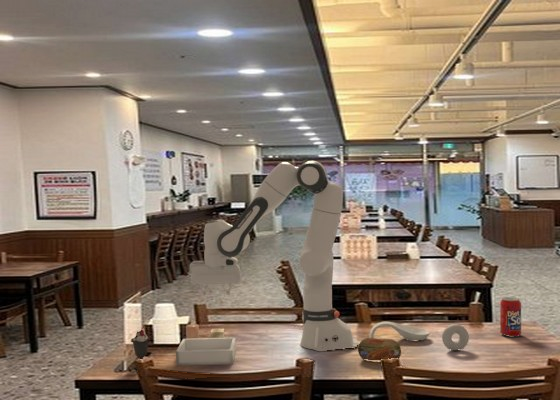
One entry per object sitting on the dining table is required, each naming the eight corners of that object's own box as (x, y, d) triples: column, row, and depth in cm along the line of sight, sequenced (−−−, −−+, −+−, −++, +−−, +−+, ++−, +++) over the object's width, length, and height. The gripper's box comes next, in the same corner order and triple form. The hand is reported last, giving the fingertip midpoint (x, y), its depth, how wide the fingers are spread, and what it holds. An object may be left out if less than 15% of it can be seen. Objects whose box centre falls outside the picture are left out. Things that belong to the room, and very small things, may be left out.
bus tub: (235, 350, 219) (235, 337, 219) (232, 364, 203) (232, 350, 203) (183, 351, 219) (183, 338, 219) (176, 365, 203) (175, 351, 203)
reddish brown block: (199, 341, 233) (199, 324, 232) (198, 344, 228) (197, 327, 227) (187, 341, 233) (187, 324, 232) (185, 345, 228) (185, 327, 227)
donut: (466, 348, 215) (466, 322, 215) (470, 351, 212) (470, 324, 211) (440, 350, 214) (440, 323, 214) (444, 352, 211) (443, 326, 210)
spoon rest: (426, 335, 234) (426, 318, 234) (432, 344, 223) (432, 325, 222) (368, 336, 235) (367, 318, 235) (371, 344, 224) (371, 326, 223)
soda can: (503, 331, 237) (503, 295, 236) (523, 334, 232) (523, 297, 231) (498, 336, 230) (497, 299, 230) (518, 339, 226) (518, 301, 225)
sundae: (146, 371, 198) (145, 328, 198) (128, 370, 200) (127, 327, 199) (154, 364, 205) (153, 323, 204) (137, 364, 206) (135, 322, 205)
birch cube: (224, 340, 233) (224, 328, 233) (223, 344, 228) (223, 332, 228) (212, 341, 233) (211, 328, 233) (210, 344, 228) (210, 332, 228)
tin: (357, 361, 204) (357, 337, 204) (360, 358, 207) (359, 335, 207) (400, 365, 199) (400, 341, 198) (402, 362, 201) (401, 338, 201)
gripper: (188, 262, 225) (189, 297, 226) (240, 261, 226) (241, 295, 226) (190, 259, 232) (191, 293, 232) (241, 258, 232) (242, 292, 233)
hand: (216, 294), depth 229 cm, fingers open, 8 cm apart
